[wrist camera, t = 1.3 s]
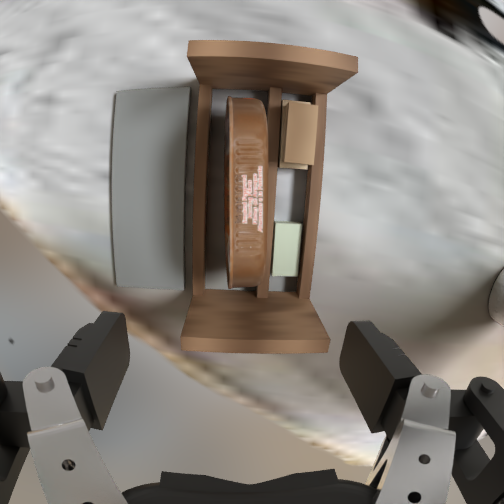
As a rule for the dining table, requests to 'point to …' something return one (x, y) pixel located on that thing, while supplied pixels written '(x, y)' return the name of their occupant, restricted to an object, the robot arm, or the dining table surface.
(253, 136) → the tin
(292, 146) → the offcut oak
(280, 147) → the offcut maple
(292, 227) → the offcut sage
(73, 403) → the robot arm
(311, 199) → the rack
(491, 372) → the dining table surface
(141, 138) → the felt mat
